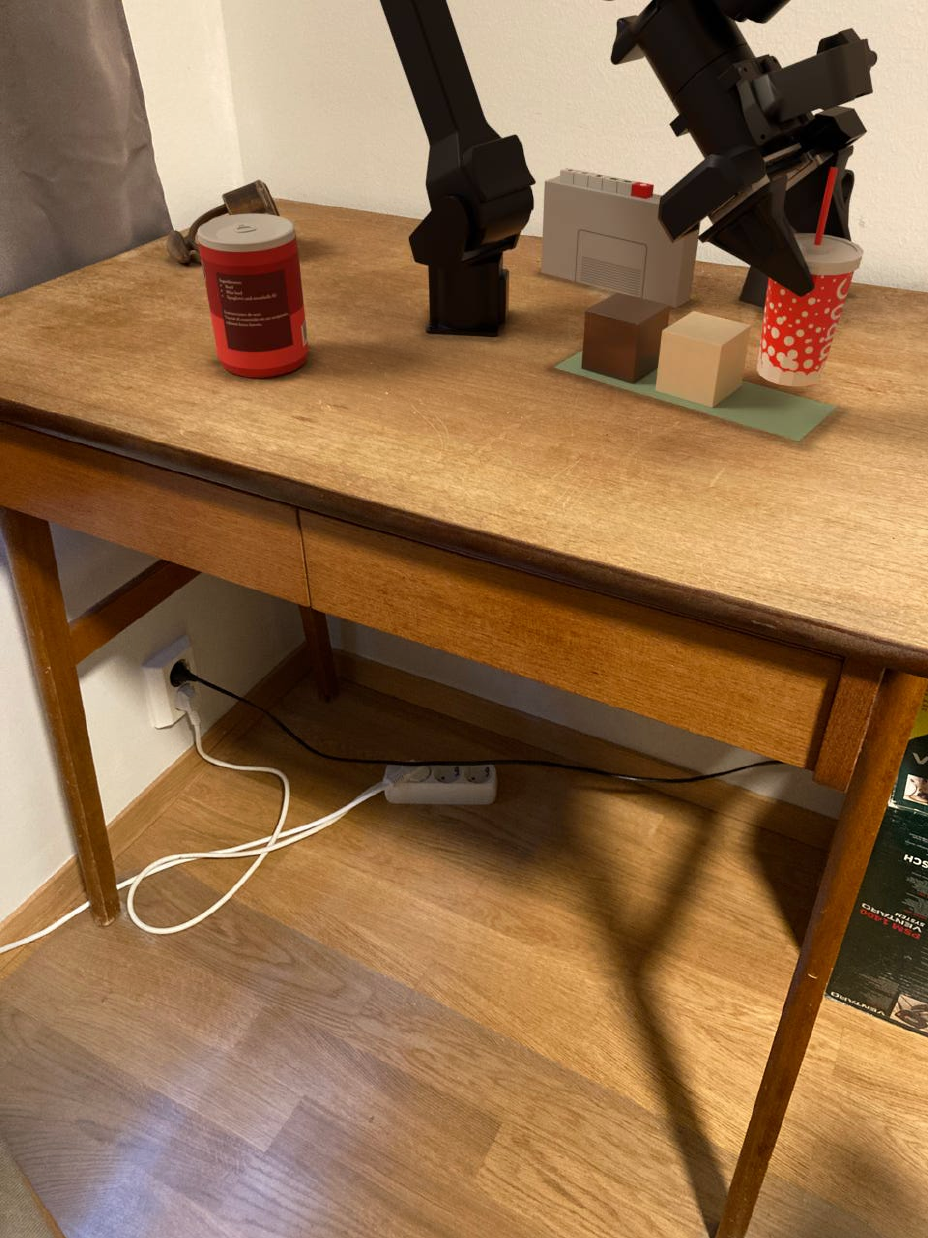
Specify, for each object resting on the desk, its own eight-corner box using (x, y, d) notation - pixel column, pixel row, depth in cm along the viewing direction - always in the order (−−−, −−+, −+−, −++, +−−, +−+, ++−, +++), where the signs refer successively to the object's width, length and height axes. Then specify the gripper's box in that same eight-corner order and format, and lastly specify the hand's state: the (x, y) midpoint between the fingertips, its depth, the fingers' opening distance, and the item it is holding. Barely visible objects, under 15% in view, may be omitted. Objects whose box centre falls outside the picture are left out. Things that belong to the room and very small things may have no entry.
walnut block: (580, 368, 83) (584, 309, 80) (612, 349, 86) (617, 291, 83) (633, 384, 80) (639, 323, 77) (664, 363, 83) (671, 304, 80)
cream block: (655, 391, 79) (662, 329, 76) (685, 369, 82) (693, 310, 79) (712, 408, 77) (722, 345, 74) (741, 385, 80) (752, 325, 77)
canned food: (273, 334, 90) (256, 206, 83) (328, 360, 85) (316, 227, 78) (200, 359, 86) (176, 227, 79) (254, 387, 81) (234, 249, 74)
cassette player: (689, 302, 95) (704, 191, 89) (675, 310, 93) (689, 198, 87) (556, 267, 103) (561, 164, 97) (541, 274, 101) (545, 169, 95)
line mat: (553, 370, 83) (553, 366, 83) (598, 343, 87) (599, 340, 87) (798, 444, 73) (799, 440, 72) (836, 410, 77) (837, 406, 77)
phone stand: (793, 319, 91) (820, 180, 84) (737, 302, 95) (759, 167, 87) (845, 295, 96) (875, 161, 89) (791, 279, 100) (815, 150, 92)
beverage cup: (793, 398, 69) (841, 186, 61) (728, 367, 73) (764, 164, 65) (850, 377, 72) (904, 171, 63) (785, 348, 76) (827, 150, 67)
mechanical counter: (280, 216, 100) (294, 168, 106) (151, 204, 99) (173, 156, 106) (284, 281, 105) (297, 231, 112) (162, 270, 105) (182, 220, 111)
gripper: (732, -3, 54) (876, 247, 56) (873, -32, 65) (990, 178, 67) (600, 131, 63) (726, 344, 64) (743, 86, 74) (849, 269, 76)
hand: (829, 280), depth 68 cm, fingers closed on beverage cup, 6 cm apart
